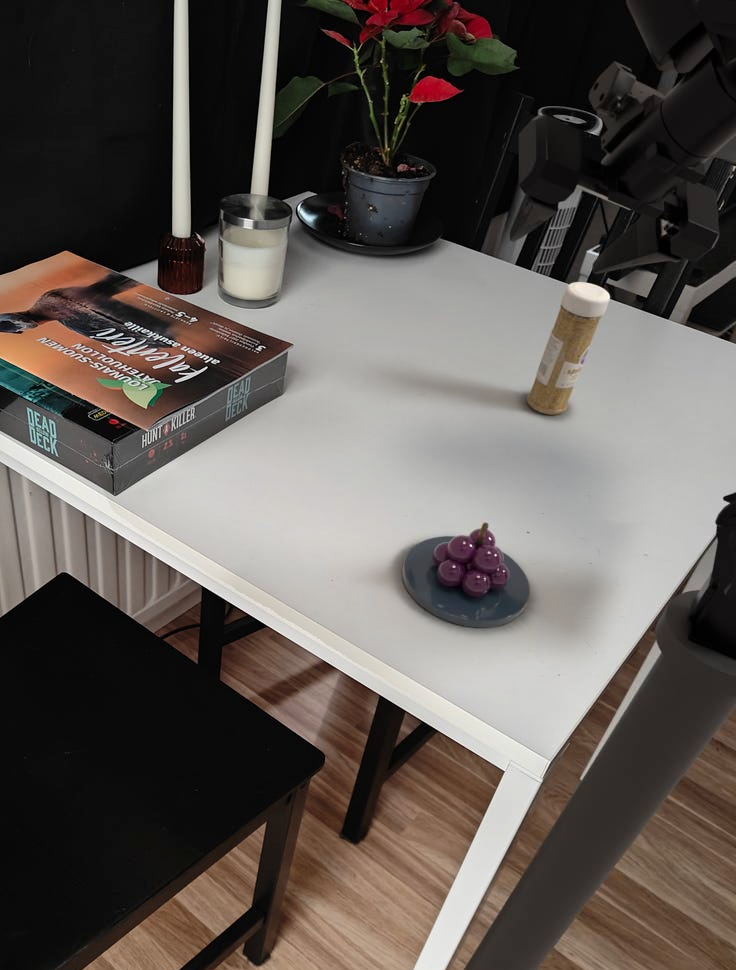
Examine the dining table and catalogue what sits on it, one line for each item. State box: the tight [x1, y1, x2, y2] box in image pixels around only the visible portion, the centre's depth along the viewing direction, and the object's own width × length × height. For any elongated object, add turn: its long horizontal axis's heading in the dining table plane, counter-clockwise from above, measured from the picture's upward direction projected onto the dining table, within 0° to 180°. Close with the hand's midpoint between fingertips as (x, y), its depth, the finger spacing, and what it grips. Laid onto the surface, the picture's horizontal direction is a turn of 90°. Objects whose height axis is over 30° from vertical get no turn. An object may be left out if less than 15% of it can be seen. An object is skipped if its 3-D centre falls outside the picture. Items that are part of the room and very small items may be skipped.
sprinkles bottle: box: [526, 281, 611, 416], centre depth 97 cm, size 5×5×13 cm
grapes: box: [401, 521, 531, 628], centre depth 76 cm, size 11×11×7 cm
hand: (553, 253), depth 82 cm, fingers open, 9 cm apart
